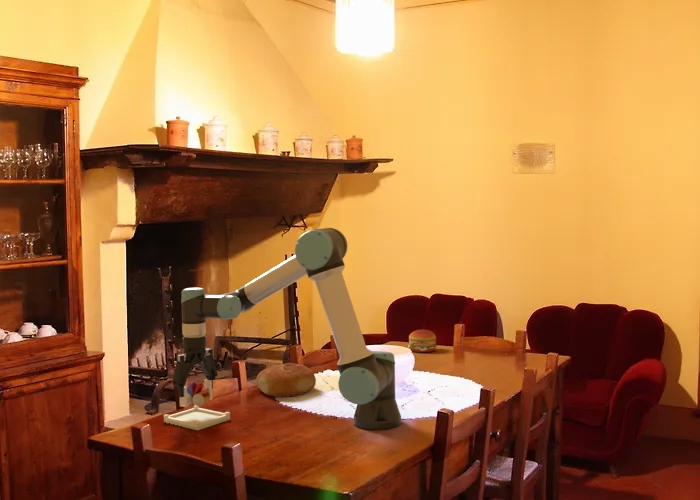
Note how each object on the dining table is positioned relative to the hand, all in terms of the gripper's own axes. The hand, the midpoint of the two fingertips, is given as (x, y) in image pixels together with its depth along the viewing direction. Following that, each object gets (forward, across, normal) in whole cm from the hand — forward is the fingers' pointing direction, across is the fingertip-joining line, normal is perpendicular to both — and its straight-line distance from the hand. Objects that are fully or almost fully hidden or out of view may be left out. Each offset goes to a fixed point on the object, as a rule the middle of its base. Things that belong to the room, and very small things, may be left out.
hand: (196, 402), depth 254 cm
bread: (+6, -46, -2) cm, 47 cm away
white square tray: (+6, 0, 0) cm, 6 cm away
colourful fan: (+1, 0, 0) cm, 1 cm away
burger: (+6, -138, +2) cm, 138 cm away
